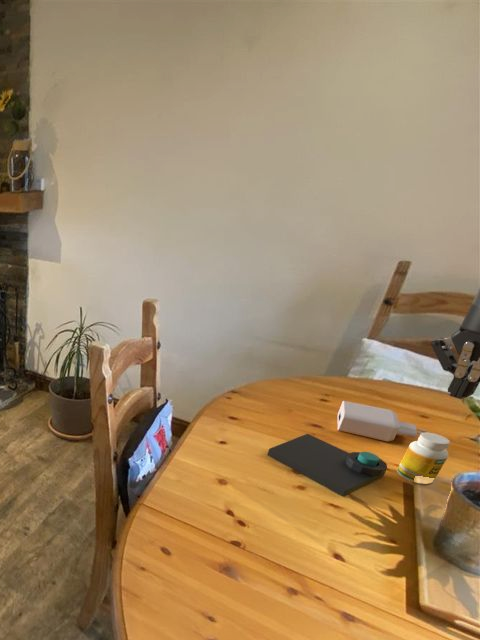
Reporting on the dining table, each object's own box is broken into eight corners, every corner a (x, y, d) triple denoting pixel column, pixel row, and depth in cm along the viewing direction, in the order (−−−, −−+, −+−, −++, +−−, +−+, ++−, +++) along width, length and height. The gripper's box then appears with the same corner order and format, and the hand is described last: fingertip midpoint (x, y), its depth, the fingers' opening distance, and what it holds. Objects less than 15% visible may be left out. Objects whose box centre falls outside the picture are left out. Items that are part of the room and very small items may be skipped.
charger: (425, 452, 91) (337, 432, 99) (419, 432, 97) (336, 415, 106) (435, 434, 89) (344, 415, 97) (428, 415, 95) (343, 398, 104)
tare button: (379, 464, 84) (383, 457, 83) (371, 468, 83) (373, 462, 82) (362, 456, 86) (365, 449, 86) (353, 460, 85) (356, 453, 85)
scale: (386, 478, 84) (393, 464, 83) (345, 498, 80) (351, 484, 79) (306, 439, 97) (311, 427, 96) (266, 455, 93) (271, 442, 91)
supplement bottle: (402, 465, 88) (422, 427, 83) (437, 479, 83) (460, 440, 79) (390, 474, 85) (410, 435, 81) (425, 489, 81) (448, 449, 77)
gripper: (440, 299, 72) (400, 386, 80) (559, 319, 61) (499, 418, 69) (464, 292, 75) (422, 378, 83) (582, 310, 64) (521, 407, 72)
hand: (457, 396), depth 76 cm, fingers closed
